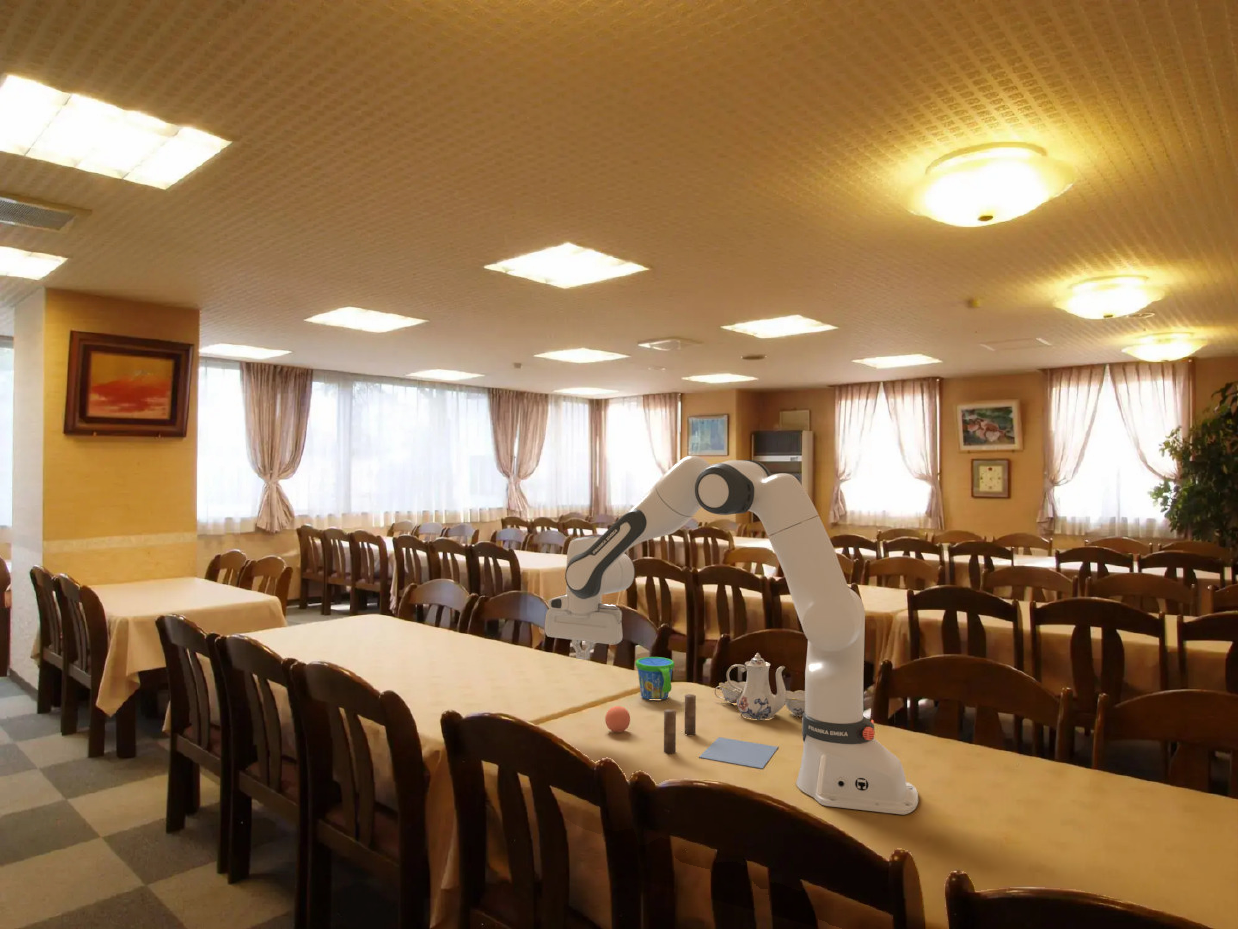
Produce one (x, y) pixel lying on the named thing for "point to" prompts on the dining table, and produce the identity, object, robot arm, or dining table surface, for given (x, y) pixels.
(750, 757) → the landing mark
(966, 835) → the dining table surface
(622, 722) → the ball
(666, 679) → the snack cup
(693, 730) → the post
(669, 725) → the post
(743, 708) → the chinaware
